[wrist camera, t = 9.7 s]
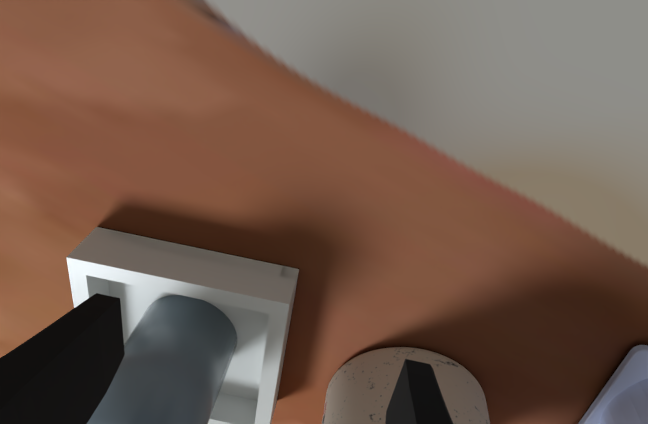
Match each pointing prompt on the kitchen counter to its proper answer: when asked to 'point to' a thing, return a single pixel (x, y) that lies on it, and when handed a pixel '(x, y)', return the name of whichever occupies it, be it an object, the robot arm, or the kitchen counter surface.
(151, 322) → the tumbler
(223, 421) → the tray
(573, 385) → the kitchen counter surface
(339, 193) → the kitchen counter surface
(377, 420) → the teacup with lid
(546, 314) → the kitchen counter surface
